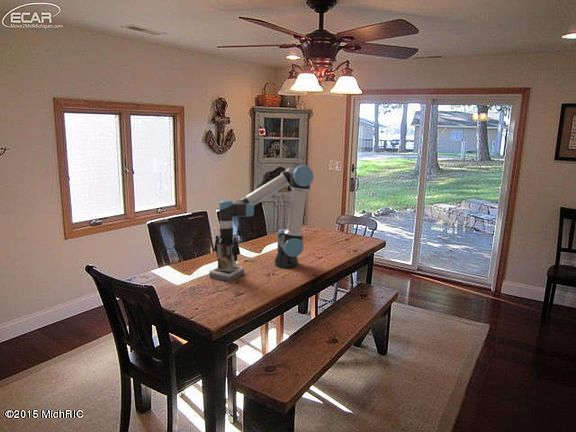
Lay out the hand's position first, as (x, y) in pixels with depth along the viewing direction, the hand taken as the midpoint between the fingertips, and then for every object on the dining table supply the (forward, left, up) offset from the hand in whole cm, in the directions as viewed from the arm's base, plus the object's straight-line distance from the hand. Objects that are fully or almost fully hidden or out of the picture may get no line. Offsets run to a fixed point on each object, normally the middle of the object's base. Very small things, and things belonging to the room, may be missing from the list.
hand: (227, 264), depth 242 cm
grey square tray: (0, 0, -6) cm, 6 cm away
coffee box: (0, 0, -3) cm, 3 cm away
